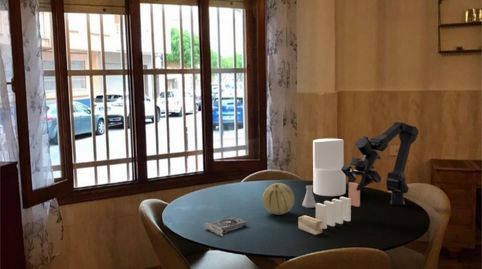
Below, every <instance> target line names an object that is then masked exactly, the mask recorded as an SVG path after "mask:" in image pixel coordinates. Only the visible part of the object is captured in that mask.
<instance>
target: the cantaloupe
mask: <svg viewBox="0 0 482 269" xmlns="http://www.w3.org/2000/svg"><path fill="white" fill-rule="evenodd" d="M262 203H263V206H264V207H263V208H265V209H266V210H267V212H268V213H270V214H272V215H277V216H279V215H284V214H286V213H289V211H290V210H291V209H292V208H293V207H294V204H295V195H294V192H293V190H292V188H291V187H290V186H288V185H286V184H285V183H280V182H276V183H272V184H270V185H269V186H268V187H266V189H265V190H264V192H263V194H262Z"/></svg>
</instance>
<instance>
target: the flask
mask: <svg viewBox="0 0 482 269" xmlns="http://www.w3.org/2000/svg"><path fill="white" fill-rule="evenodd" d="M305 188H306V191H305V192H306V193H305V196H304V199H303V201H302V204H301V206H302V207H304V208H307V209H309V208H311V209H312V208H316V200H315V196H314V194H313V193H314V192H313V185H306V186H305Z"/></svg>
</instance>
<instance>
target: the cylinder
mask: <svg viewBox="0 0 482 269" xmlns="http://www.w3.org/2000/svg"><path fill="white" fill-rule="evenodd" d="M344 143H345V142H344V139H341V138H317V139H314V140H312V160H313V161H312V165H313V166H312V167H313V168H312V169H313V171H312V175H313V176H312V179H313V180H312V181H313V182H312V186H313V188H312V192H313V193H314V194H315V195H318V196H322V197H338V196H339V197H340V196H343V195H345V194H346V191H347V184H346V183H347V182H346V179H347V176H346V175H345V174H344V173H343V171H342V170H341V169H342V167H343V166H344V163H345V162H344V159H345V158H344V157H345V155H344Z"/></svg>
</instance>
